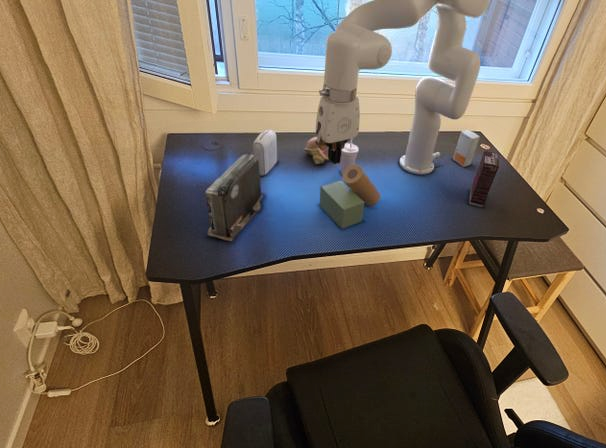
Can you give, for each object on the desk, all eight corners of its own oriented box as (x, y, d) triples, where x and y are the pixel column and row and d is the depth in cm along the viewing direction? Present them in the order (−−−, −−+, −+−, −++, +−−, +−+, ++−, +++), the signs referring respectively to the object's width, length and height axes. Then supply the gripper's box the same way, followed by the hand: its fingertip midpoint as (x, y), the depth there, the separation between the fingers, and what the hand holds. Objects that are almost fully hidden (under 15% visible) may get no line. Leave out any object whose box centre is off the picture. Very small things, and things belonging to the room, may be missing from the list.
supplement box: (483, 207, 129) (499, 166, 119) (468, 204, 129) (483, 163, 119) (483, 193, 136) (498, 153, 126) (469, 190, 136) (483, 149, 126)
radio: (249, 188, 119) (245, 144, 110) (275, 196, 118) (273, 152, 109) (200, 235, 102) (190, 187, 92) (230, 244, 100) (224, 198, 91)
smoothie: (352, 180, 130) (357, 142, 121) (334, 175, 131) (337, 137, 122) (358, 170, 135) (362, 133, 126) (340, 166, 136) (343, 129, 127)
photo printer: (266, 158, 133) (265, 124, 125) (278, 161, 132) (277, 127, 124) (252, 174, 125) (249, 139, 117) (265, 177, 124) (263, 142, 117)
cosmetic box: (452, 159, 150) (460, 131, 143) (459, 157, 153) (468, 128, 145) (463, 167, 147) (473, 138, 140) (471, 164, 150) (480, 136, 142)
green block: (339, 199, 122) (340, 180, 117) (361, 221, 115) (364, 202, 111) (319, 205, 118) (320, 186, 113) (341, 229, 111) (343, 209, 107)
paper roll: (370, 195, 125) (376, 154, 116) (382, 205, 122) (389, 164, 112) (336, 207, 118) (339, 165, 109) (347, 218, 115) (351, 176, 106)
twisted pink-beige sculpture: (332, 169, 134) (313, 154, 127) (311, 171, 140) (292, 156, 133) (340, 146, 137) (322, 130, 130) (319, 148, 143) (301, 133, 136)
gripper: (320, 103, 84) (316, 175, 96) (375, 94, 93) (365, 161, 104) (302, 89, 89) (301, 160, 100) (357, 82, 97) (349, 148, 108)
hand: (334, 160), depth 102 cm, fingers closed
